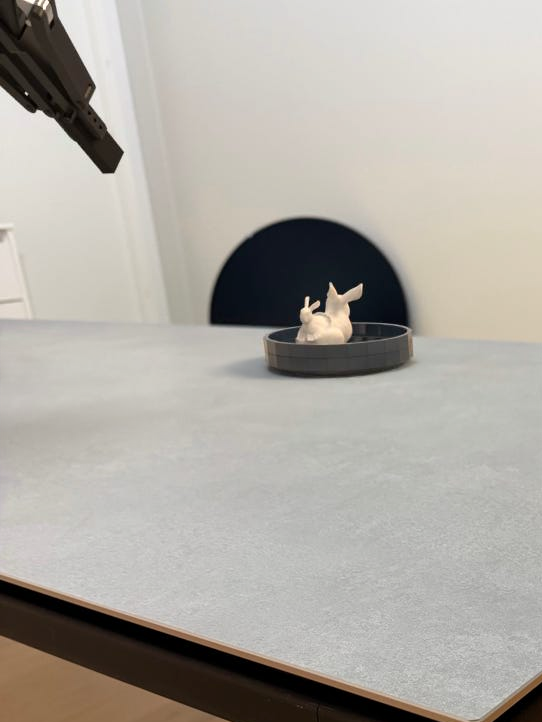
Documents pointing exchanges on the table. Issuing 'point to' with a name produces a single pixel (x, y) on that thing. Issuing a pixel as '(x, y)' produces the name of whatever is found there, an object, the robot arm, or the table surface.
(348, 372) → the bowl
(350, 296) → the rabbit figurine
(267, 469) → the table surface
